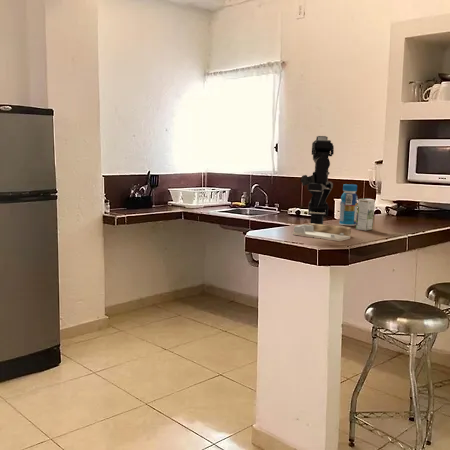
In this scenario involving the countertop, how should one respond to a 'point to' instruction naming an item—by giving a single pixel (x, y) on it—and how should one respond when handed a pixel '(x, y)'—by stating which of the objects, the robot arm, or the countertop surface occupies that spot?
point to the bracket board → (317, 233)
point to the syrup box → (365, 214)
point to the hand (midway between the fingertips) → (319, 205)
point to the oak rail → (332, 229)
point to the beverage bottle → (348, 205)
